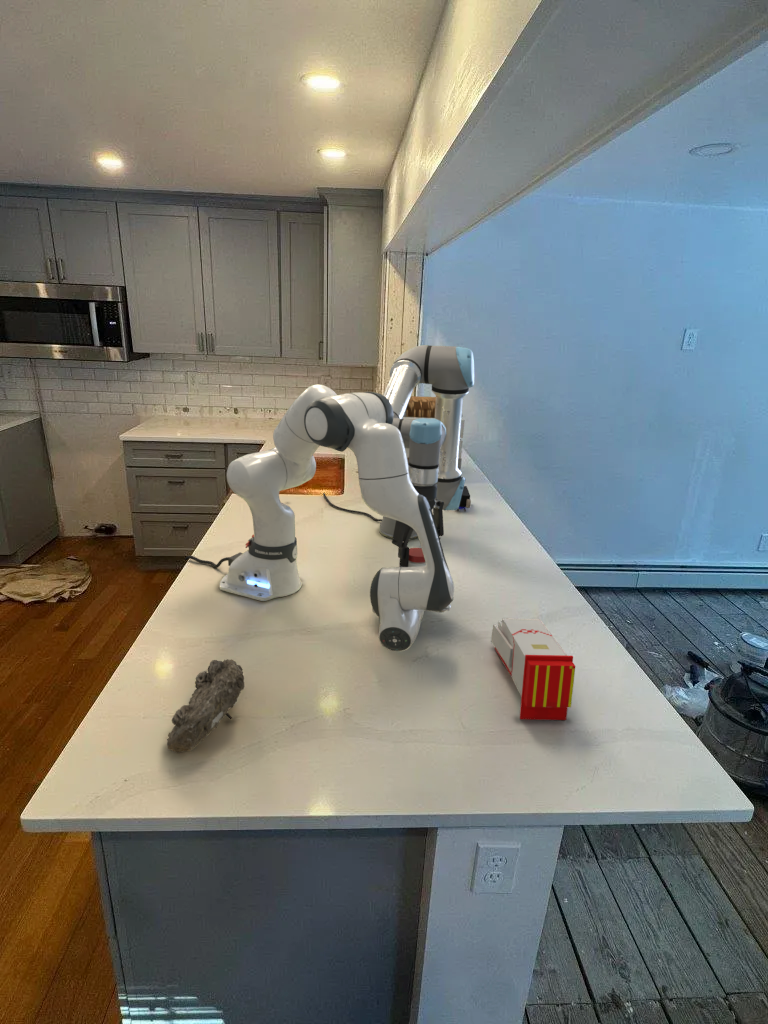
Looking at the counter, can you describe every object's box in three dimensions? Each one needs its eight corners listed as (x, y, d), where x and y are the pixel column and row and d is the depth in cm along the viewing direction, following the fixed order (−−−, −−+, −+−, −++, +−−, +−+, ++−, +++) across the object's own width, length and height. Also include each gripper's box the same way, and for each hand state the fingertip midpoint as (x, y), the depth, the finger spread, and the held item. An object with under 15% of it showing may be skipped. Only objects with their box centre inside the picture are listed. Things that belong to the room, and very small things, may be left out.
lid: (432, 557, 148) (433, 551, 148) (421, 565, 144) (421, 558, 143) (413, 551, 151) (413, 545, 151) (401, 558, 147) (401, 552, 146)
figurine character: (470, 516, 223) (465, 500, 237) (473, 499, 220) (467, 484, 233) (453, 516, 223) (449, 500, 236) (455, 498, 220) (451, 483, 233)
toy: (537, 603, 136) (584, 662, 106) (532, 655, 138) (577, 726, 109) (487, 602, 135) (520, 661, 106) (483, 654, 138) (514, 725, 109)
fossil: (192, 660, 117) (244, 628, 112) (224, 691, 120) (276, 661, 115) (142, 746, 98) (202, 712, 93) (182, 779, 101) (242, 748, 96)
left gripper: (450, 600, 135) (455, 575, 148) (367, 588, 139) (379, 565, 151) (448, 623, 137) (453, 596, 150) (366, 611, 141) (378, 586, 154)
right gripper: (443, 473, 149) (437, 552, 157) (379, 484, 137) (375, 569, 145) (463, 480, 144) (455, 562, 151) (398, 492, 132) (393, 580, 140)
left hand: (415, 581), depth 151 cm, fingers closed on jar, 5 cm apart
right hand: (416, 565), depth 148 cm, fingers open, 8 cm apart
